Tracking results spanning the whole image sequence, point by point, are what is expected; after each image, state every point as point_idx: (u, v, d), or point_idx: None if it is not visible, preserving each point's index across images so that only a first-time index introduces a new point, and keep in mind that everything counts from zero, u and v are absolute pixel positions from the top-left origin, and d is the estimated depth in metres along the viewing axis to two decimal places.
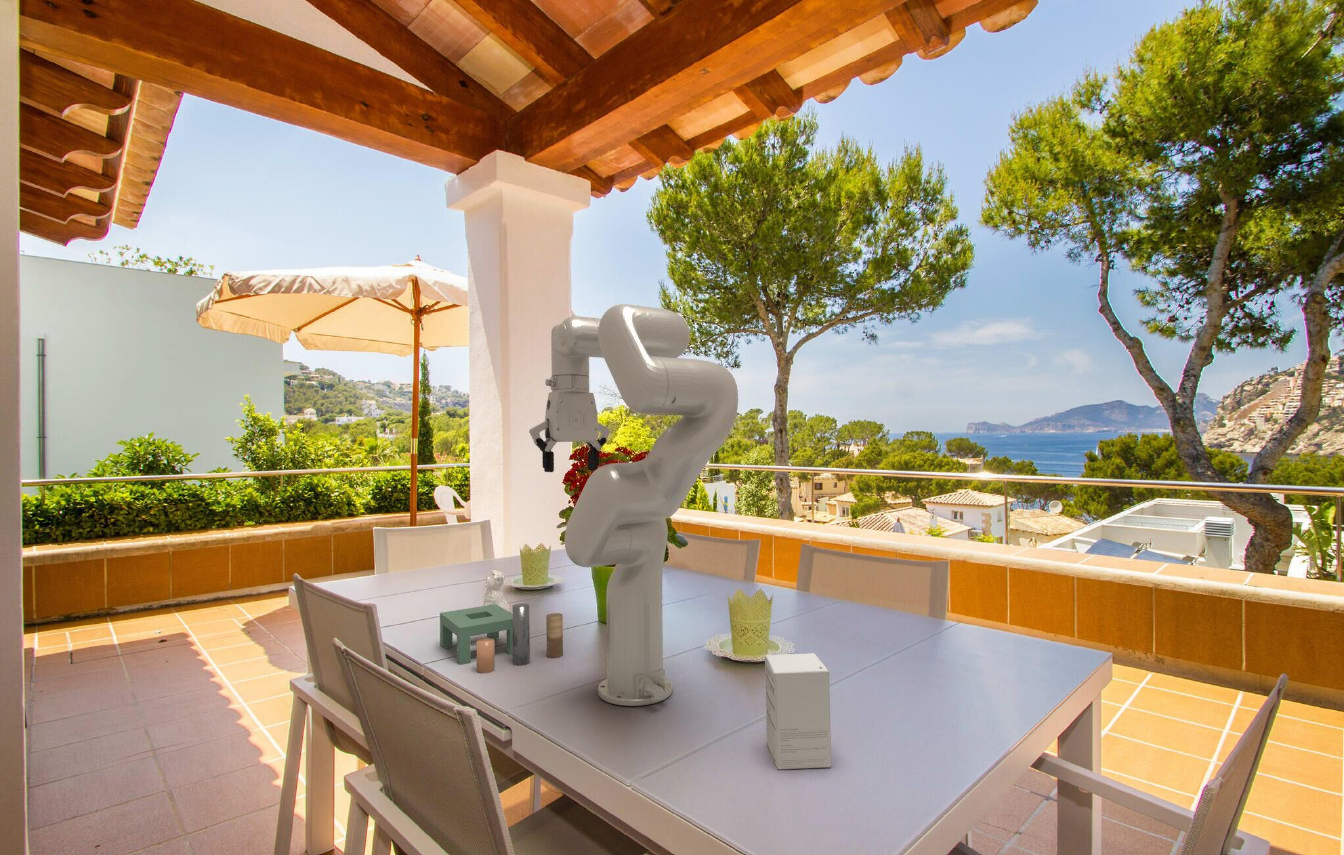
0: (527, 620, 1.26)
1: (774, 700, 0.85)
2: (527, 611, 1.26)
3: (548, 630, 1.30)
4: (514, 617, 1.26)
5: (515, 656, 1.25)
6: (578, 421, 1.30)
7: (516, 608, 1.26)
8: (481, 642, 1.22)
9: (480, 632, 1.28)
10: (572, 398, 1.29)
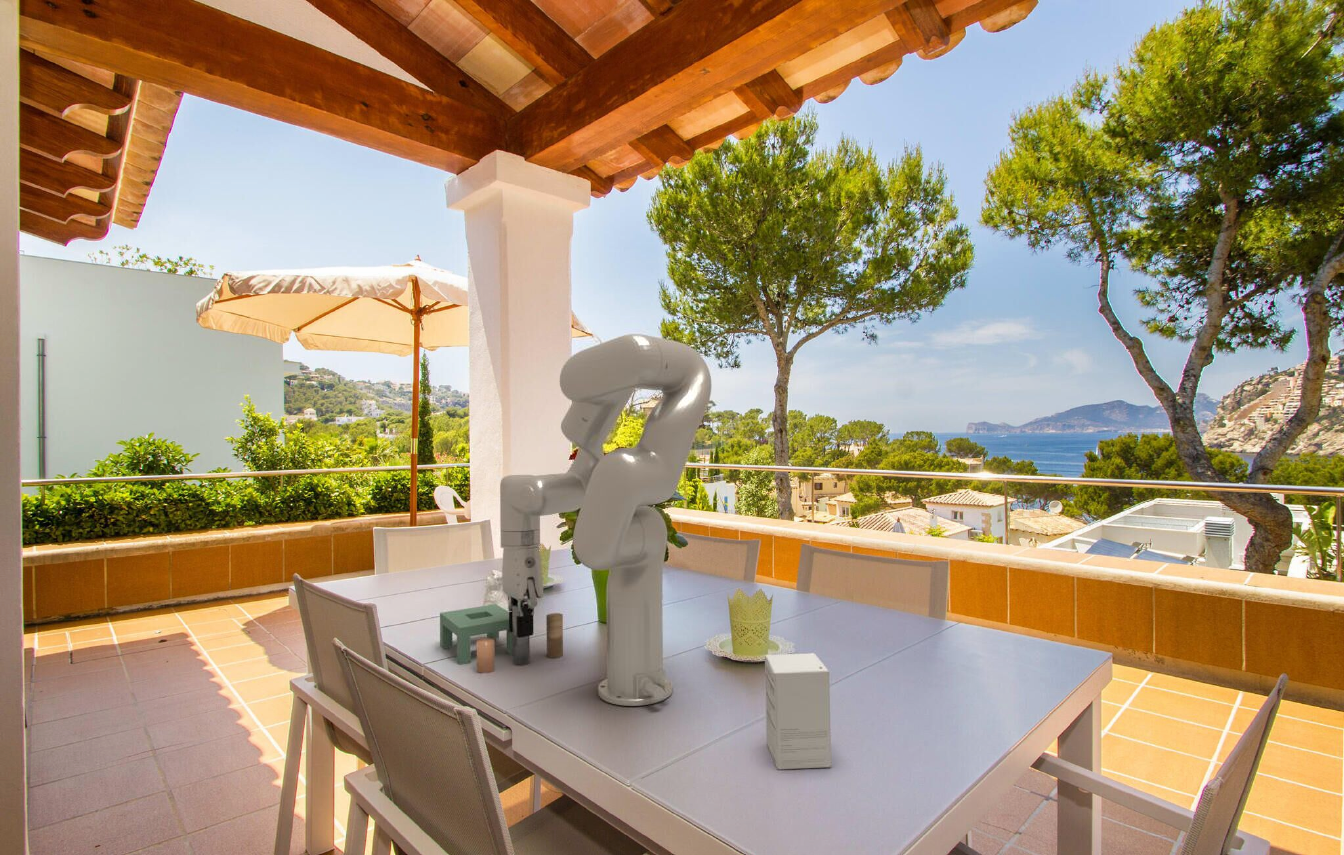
0: None
1: (774, 700, 0.85)
2: None
3: (548, 630, 1.30)
4: (514, 617, 1.26)
5: (515, 656, 1.25)
6: None
7: (516, 608, 1.26)
8: (481, 642, 1.22)
9: (480, 632, 1.28)
10: None
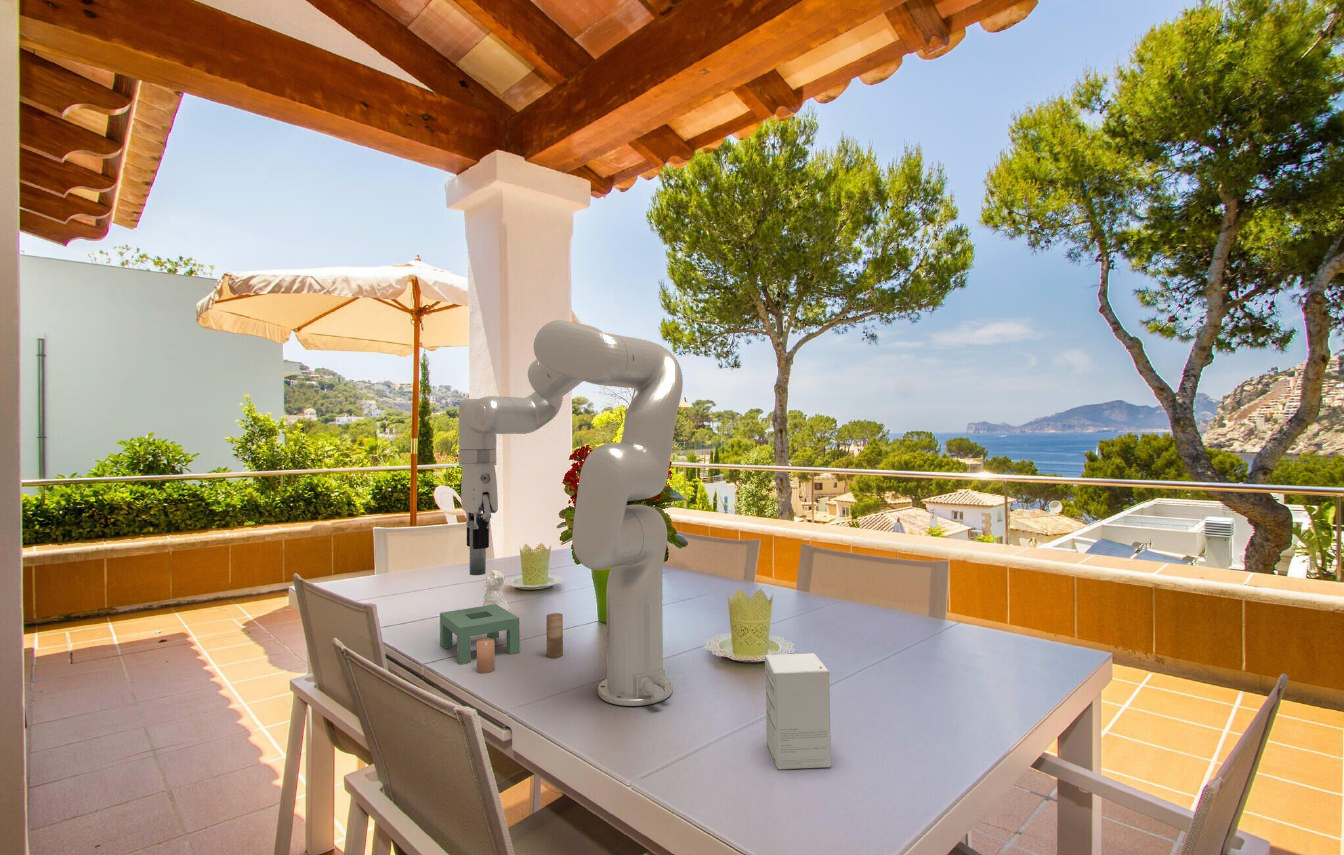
0: None
1: (774, 700, 0.85)
2: None
3: (548, 630, 1.30)
4: (471, 530, 1.35)
5: (471, 566, 1.34)
6: None
7: (472, 522, 1.34)
8: (481, 642, 1.22)
9: (480, 632, 1.28)
10: None
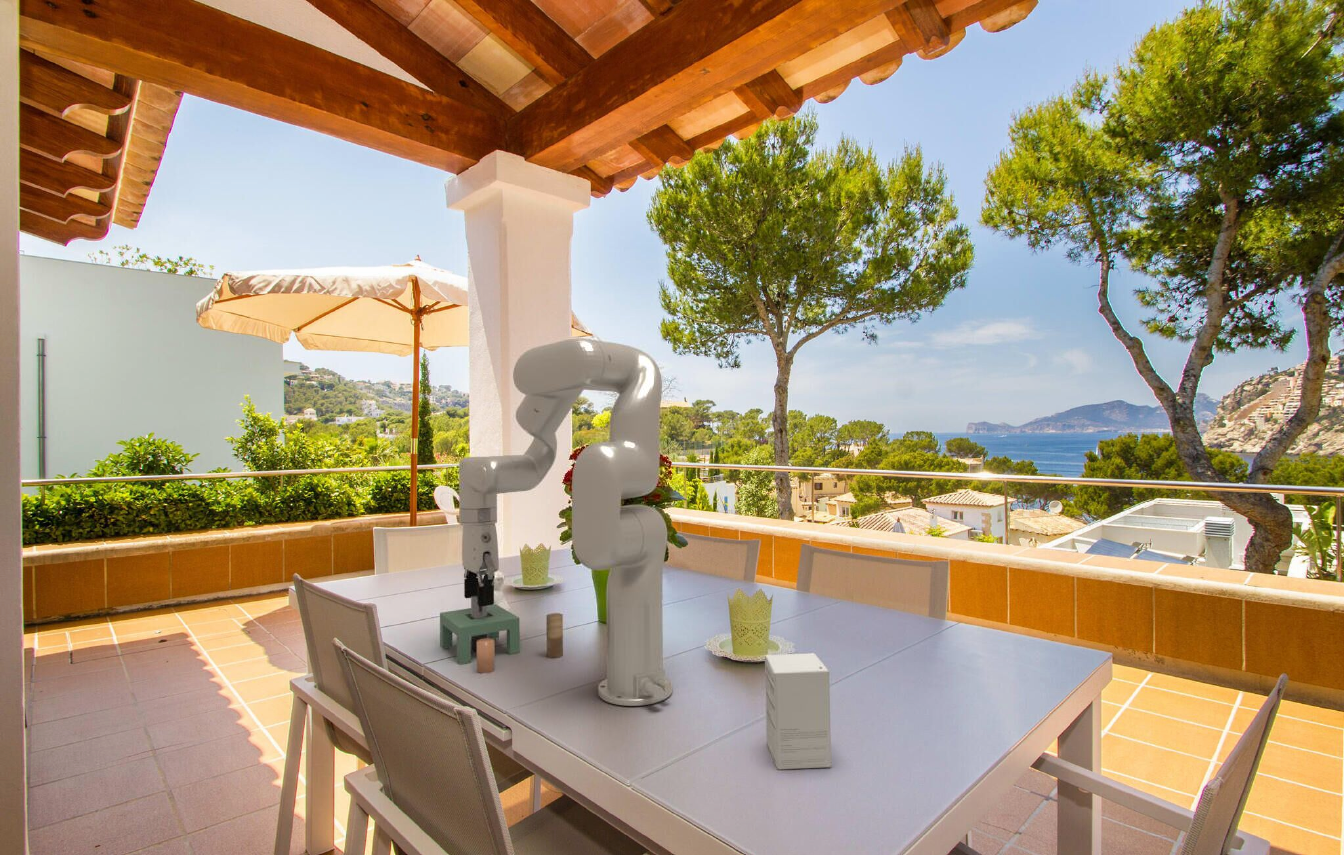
0: (484, 610, 1.35)
1: (774, 700, 0.85)
2: None
3: (548, 630, 1.30)
4: (472, 607, 1.34)
5: (473, 643, 1.34)
6: None
7: (474, 598, 1.34)
8: (481, 642, 1.22)
9: (480, 632, 1.28)
10: None
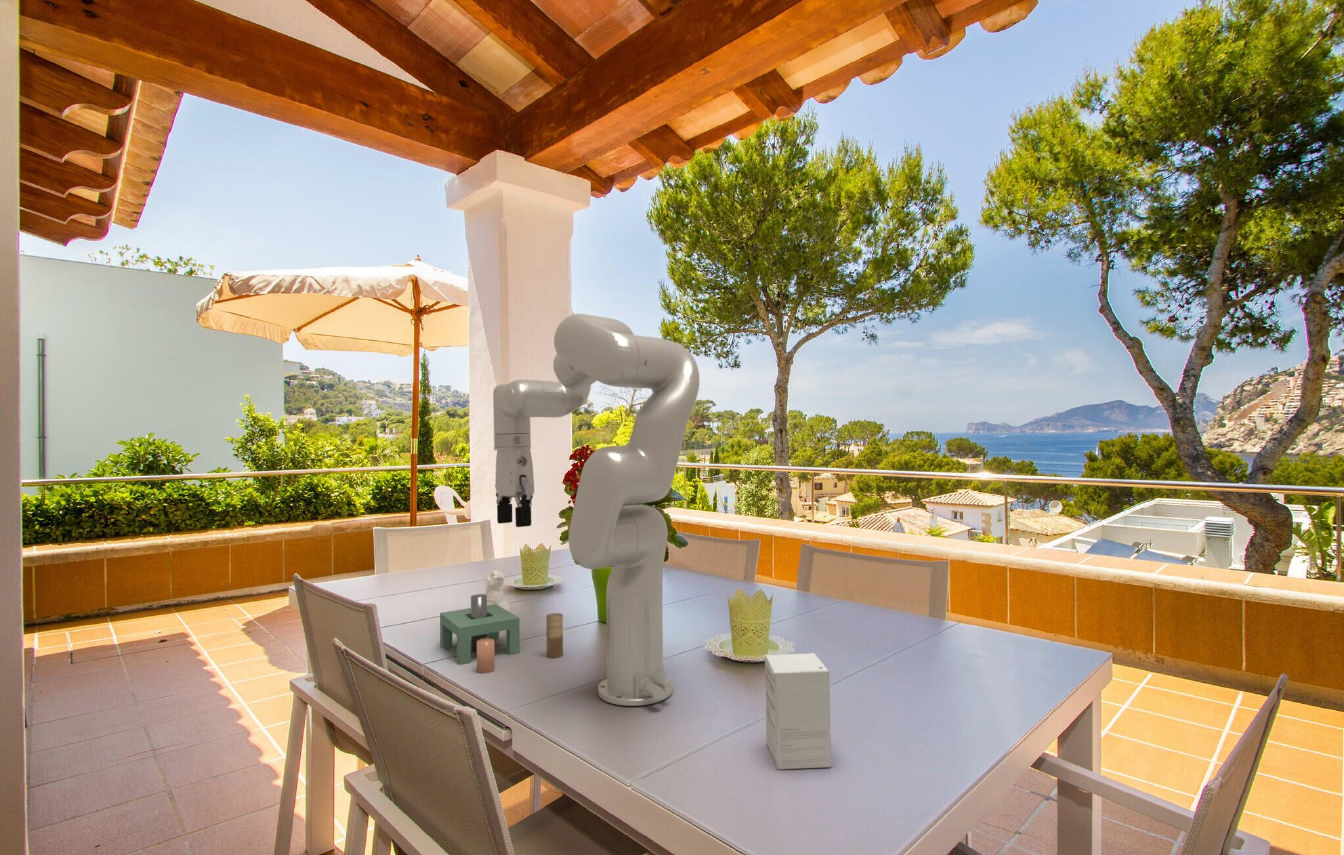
0: (484, 609, 1.35)
1: (774, 700, 0.85)
2: (484, 601, 1.35)
3: (548, 630, 1.30)
4: (472, 607, 1.34)
5: (473, 643, 1.34)
6: None
7: (474, 598, 1.34)
8: (481, 642, 1.22)
9: (480, 632, 1.28)
10: None
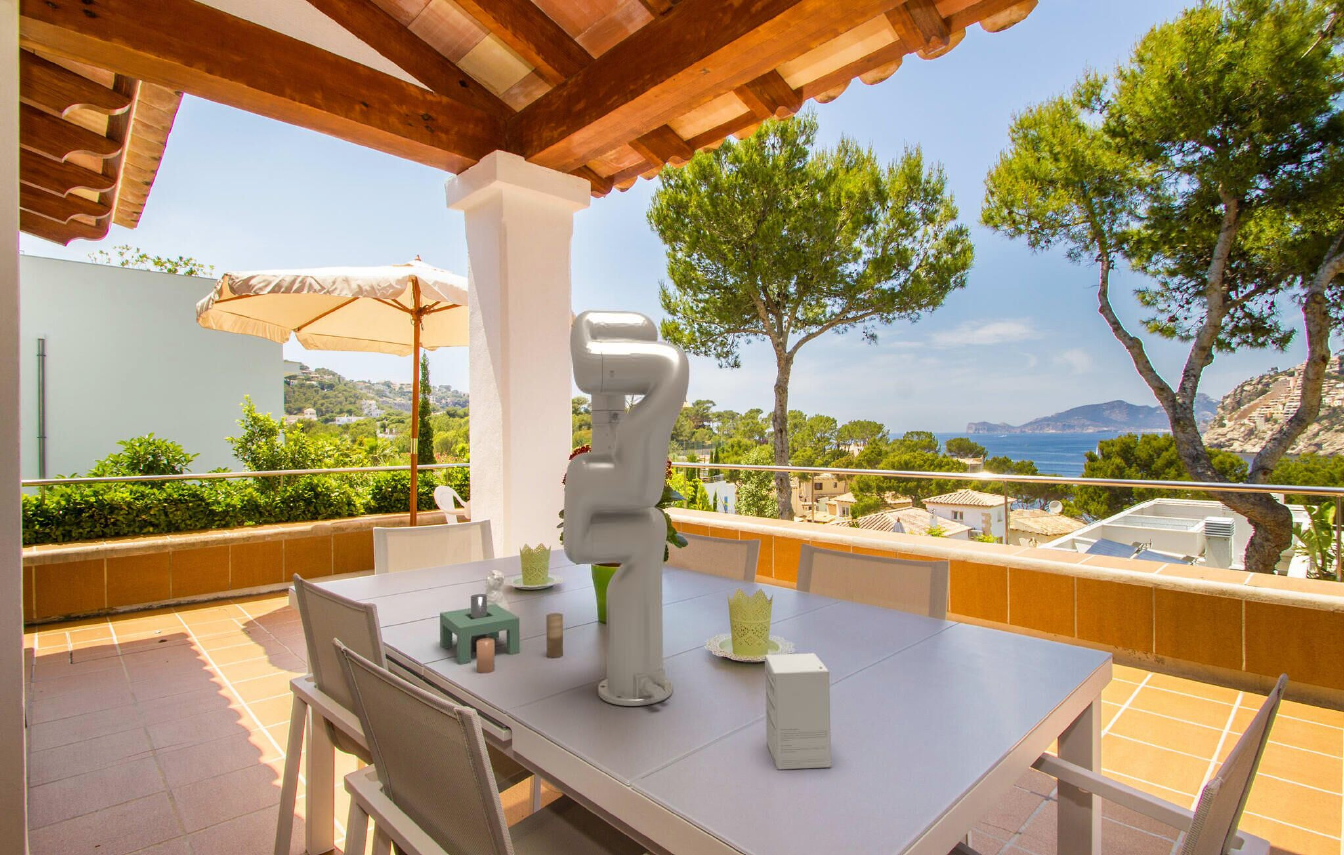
0: (484, 609, 1.35)
1: (774, 700, 0.85)
2: (484, 601, 1.35)
3: (548, 630, 1.30)
4: (472, 607, 1.34)
5: (473, 643, 1.34)
6: None
7: (474, 598, 1.34)
8: (481, 642, 1.22)
9: (480, 632, 1.28)
10: None
